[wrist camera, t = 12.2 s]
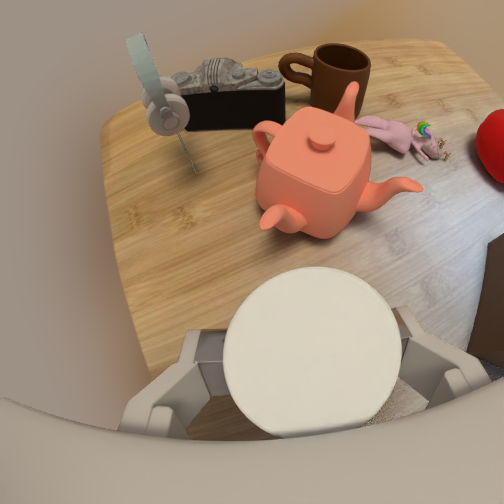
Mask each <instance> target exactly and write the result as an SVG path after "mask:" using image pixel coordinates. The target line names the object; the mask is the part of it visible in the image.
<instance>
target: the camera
mask: <svg viewBox="0 0 504 504" xmlns="http://www.w3.org/2000/svg"><path fill="white" fill-rule="evenodd" d="M170 78H172V79H173V80H174V81H175V82H176V83H177V85H178V87H179V89H180V92H181V97H182V98H183V99H184V100H185V102H186V104H187V106H188V109H189V113H190V117H189V121H188V124H187V126H186V127H185V129H186V131H187V132H196V131H212V130H239V129H254V128H255V126H256V125H257V124H259V123H260V122H262V121H273V122H276V123H278V124H280V125H282V126H283V125H284V123H285V82H284V79H283V77H282V75H281V73H280V72H279V71H277V70H273V69H266V70H263V71H261V72H259V73H258V69H257V68H242V64H241V63H237V62H235V61H234V60H232V59H229V58H216V59H207V60H204V62H203V63H202V64H201V65H200V66H199V67H197V68H196V70H195V71H194V72H193V73H187V72H179V73H176V74H174V75H173V76H171V77H170Z"/></svg>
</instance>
